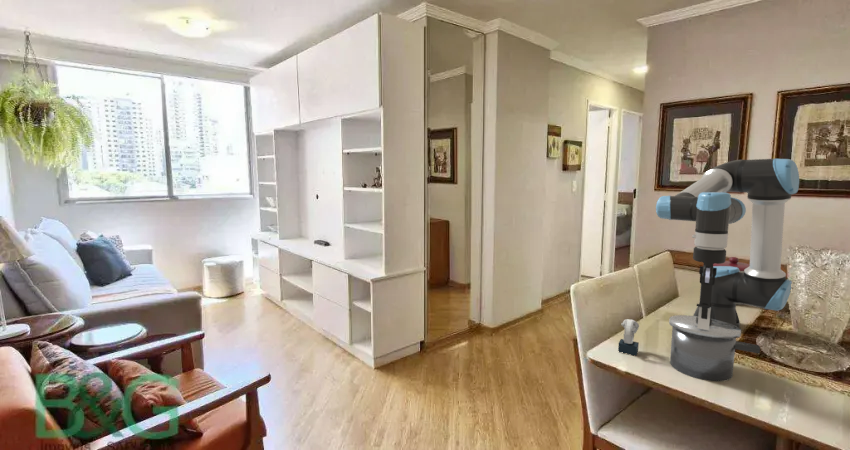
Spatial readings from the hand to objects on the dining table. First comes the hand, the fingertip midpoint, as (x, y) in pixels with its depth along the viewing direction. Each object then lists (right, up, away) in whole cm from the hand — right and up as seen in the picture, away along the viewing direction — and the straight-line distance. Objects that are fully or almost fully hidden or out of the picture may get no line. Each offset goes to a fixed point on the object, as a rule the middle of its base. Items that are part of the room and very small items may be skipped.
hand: (703, 328), depth 116 cm
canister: (+62, -6, +73) cm, 96 cm away
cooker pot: (+8, -15, +8) cm, 18 cm away
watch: (-11, -13, +21) cm, 27 cm away
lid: (+5, -2, +7) cm, 9 cm away
